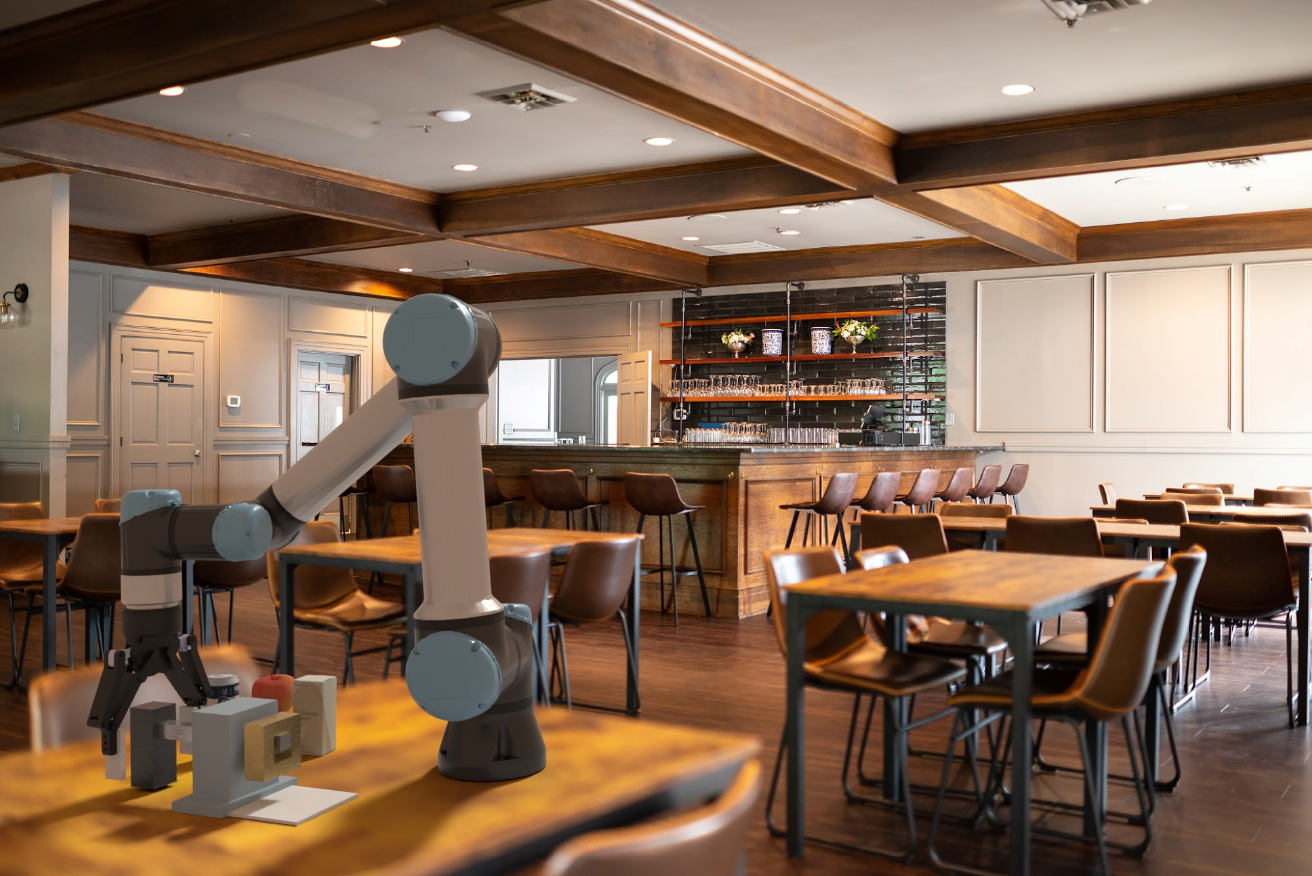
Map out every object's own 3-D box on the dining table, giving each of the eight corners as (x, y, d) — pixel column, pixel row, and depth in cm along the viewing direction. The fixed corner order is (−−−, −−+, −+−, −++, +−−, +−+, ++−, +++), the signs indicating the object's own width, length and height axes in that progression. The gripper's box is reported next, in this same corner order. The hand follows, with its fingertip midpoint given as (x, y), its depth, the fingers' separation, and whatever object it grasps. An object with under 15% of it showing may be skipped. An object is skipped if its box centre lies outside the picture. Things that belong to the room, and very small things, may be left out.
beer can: (228, 762, 167) (227, 679, 167) (198, 761, 168) (197, 678, 168) (246, 753, 172) (245, 672, 172) (217, 752, 173) (216, 671, 173)
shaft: (297, 796, 149) (296, 714, 149) (275, 805, 146) (274, 721, 146) (154, 778, 158) (153, 701, 158) (130, 786, 155) (129, 707, 155)
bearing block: (297, 786, 155) (296, 696, 155) (222, 818, 142) (220, 720, 142) (249, 780, 158) (248, 692, 158) (171, 811, 145) (170, 715, 145)
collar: (301, 767, 151) (300, 713, 151) (264, 782, 144) (263, 725, 144) (282, 765, 152) (281, 711, 152) (244, 779, 145) (244, 724, 145)
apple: (302, 710, 199) (301, 664, 199) (291, 721, 192) (291, 672, 192) (258, 712, 199) (258, 665, 199) (246, 722, 191) (245, 673, 191)
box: (291, 754, 171) (290, 679, 171) (306, 747, 175) (305, 673, 175) (323, 756, 170) (322, 681, 170) (338, 749, 174) (337, 675, 174)
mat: (358, 796, 151) (358, 793, 151) (296, 825, 139) (296, 822, 139) (289, 788, 155) (289, 785, 155) (224, 815, 144) (224, 812, 144)
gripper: (197, 592, 168) (198, 741, 168) (53, 616, 146) (56, 788, 146) (238, 594, 165) (240, 745, 165) (98, 619, 143) (100, 794, 143)
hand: (153, 766), depth 156 cm, fingers open, 12 cm apart
